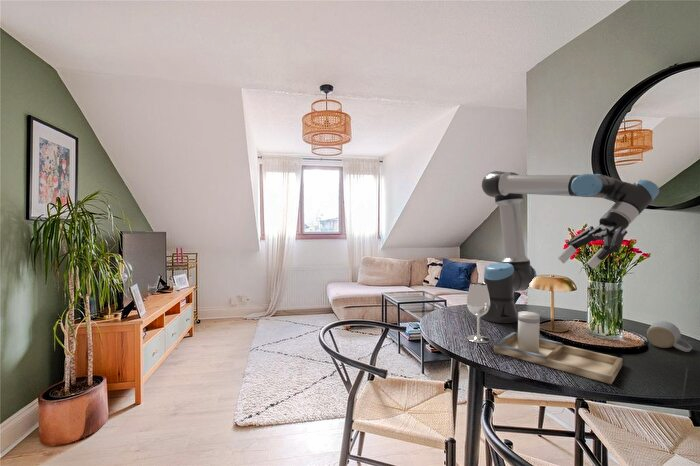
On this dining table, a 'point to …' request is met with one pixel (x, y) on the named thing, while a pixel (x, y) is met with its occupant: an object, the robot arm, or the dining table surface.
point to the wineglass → (478, 307)
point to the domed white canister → (528, 331)
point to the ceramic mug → (666, 336)
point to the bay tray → (564, 358)
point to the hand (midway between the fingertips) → (574, 263)
